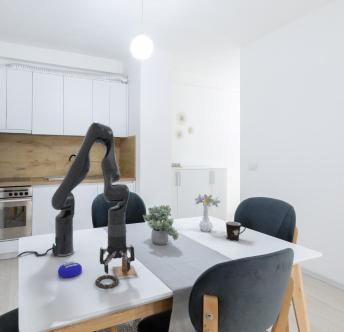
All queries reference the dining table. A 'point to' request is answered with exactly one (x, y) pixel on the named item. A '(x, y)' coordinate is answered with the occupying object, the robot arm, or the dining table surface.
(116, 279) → the ring
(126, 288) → the dining table surface
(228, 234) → the coffee mug
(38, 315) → the dining table surface
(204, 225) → the flower vase
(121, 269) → the post
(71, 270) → the decorative object
